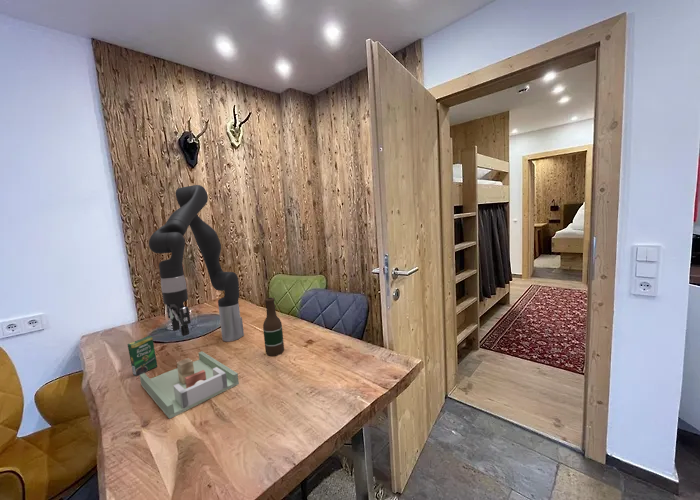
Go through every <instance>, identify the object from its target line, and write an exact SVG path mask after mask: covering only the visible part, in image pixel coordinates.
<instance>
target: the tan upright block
mask: <svg viewBox="0 0 700 500" xmlns="http://www.w3.org/2000/svg"><path fill="white" fill-rule="evenodd" d="M193 362H194V360H192V359H191V358H189V357H187V358H184V359H182V360H179V361H176V367H177V369H178V376H179V381H180V382H181V383H182V384H185V383H186V389H187V388H189V387H191V386H193V385H194V384H195V383H196V382H197V381H199V380H206V373H205V371H204V370H202V371H199V372H197V373H195V374H194V366H193Z"/></svg>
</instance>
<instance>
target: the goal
mask: <svg viewBox="0 0 700 500" xmlns="http://www.w3.org/2000/svg"><path fill="white" fill-rule="evenodd" d="M226 387H228V386H227V378H226V373H225V372H224V371H222V370H221V369H219V368H217V367H216V368H213V377H211V378H209V379H207V380H204V381H202V382H200V383H198V384H196V385H193V386H191V387H189V388H187V389H184V388H183V387H182V386H181V385H179V384H176V385H174V386H173V388H174V394H175V400H176V401H177V402H178V404H179V405H180V406H181V407H182V408H183V409H184V408H186V407H188V406H190V405H192V404H194V403H196V402H198V401H200V400H202V399H204V398H206V397H208V396H210V395H212V394H214V393H216V392H218V391H220V390H222V389H224V388H226Z"/></svg>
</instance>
